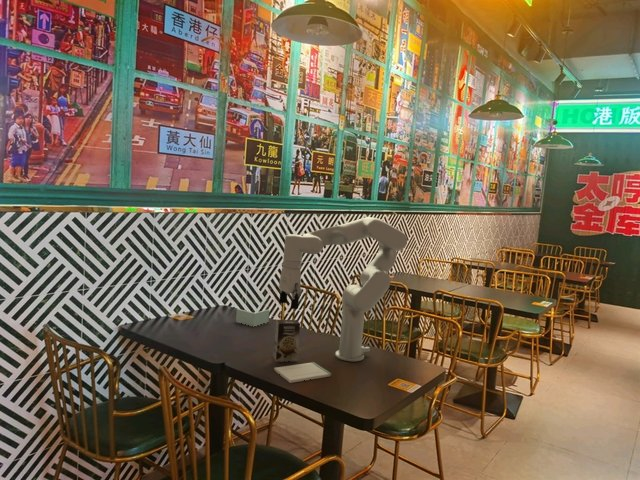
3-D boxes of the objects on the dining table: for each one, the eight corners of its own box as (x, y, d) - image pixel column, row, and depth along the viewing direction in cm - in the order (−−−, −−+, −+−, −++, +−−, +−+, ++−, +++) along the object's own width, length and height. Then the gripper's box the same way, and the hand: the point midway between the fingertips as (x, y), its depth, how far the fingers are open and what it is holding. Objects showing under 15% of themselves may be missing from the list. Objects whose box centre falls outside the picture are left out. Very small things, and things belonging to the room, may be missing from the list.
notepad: (313, 364, 193) (313, 361, 193) (331, 376, 182) (331, 373, 182) (274, 370, 184) (274, 367, 184) (290, 382, 173) (290, 380, 173)
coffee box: (275, 362, 193) (278, 323, 191) (273, 356, 199) (275, 319, 197) (297, 361, 195) (300, 323, 194) (294, 356, 201) (297, 319, 200)
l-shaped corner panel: (268, 323, 250) (269, 309, 249) (253, 328, 239) (254, 313, 239) (250, 319, 256) (251, 305, 255) (235, 323, 246) (236, 309, 245)
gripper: (274, 261, 198) (270, 301, 200) (294, 268, 184) (290, 311, 185) (290, 261, 202) (286, 300, 204) (310, 268, 188) (307, 310, 190)
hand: (288, 305), depth 195 cm, fingers open, 9 cm apart
